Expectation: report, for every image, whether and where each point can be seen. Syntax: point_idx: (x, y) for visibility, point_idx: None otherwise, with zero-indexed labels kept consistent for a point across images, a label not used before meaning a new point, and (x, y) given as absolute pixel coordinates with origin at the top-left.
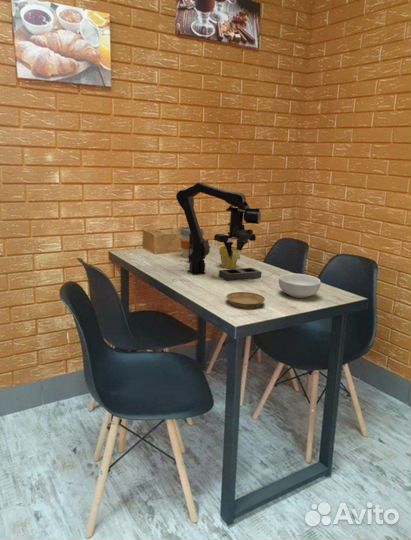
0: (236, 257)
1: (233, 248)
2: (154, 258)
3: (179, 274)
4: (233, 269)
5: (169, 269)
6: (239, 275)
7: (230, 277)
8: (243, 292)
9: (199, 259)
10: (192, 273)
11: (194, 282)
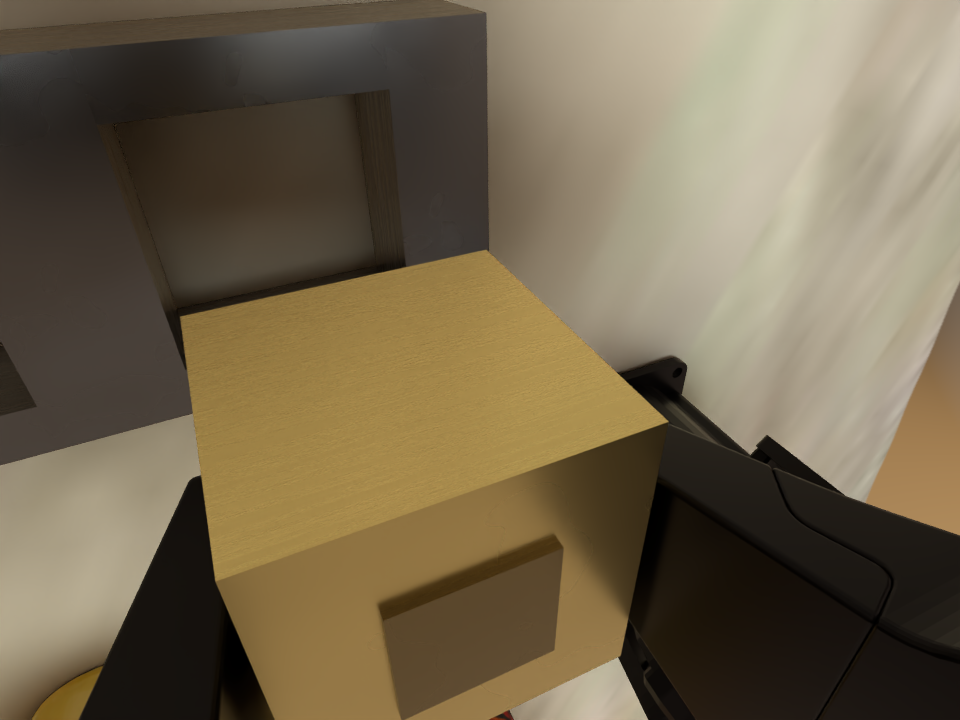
0: (351, 310)
1: None
2: None
3: (764, 370)
4: None
5: None
6: (171, 31)
7: (399, 8)
8: None
9: (792, 456)
10: (683, 376)
11: (845, 52)
